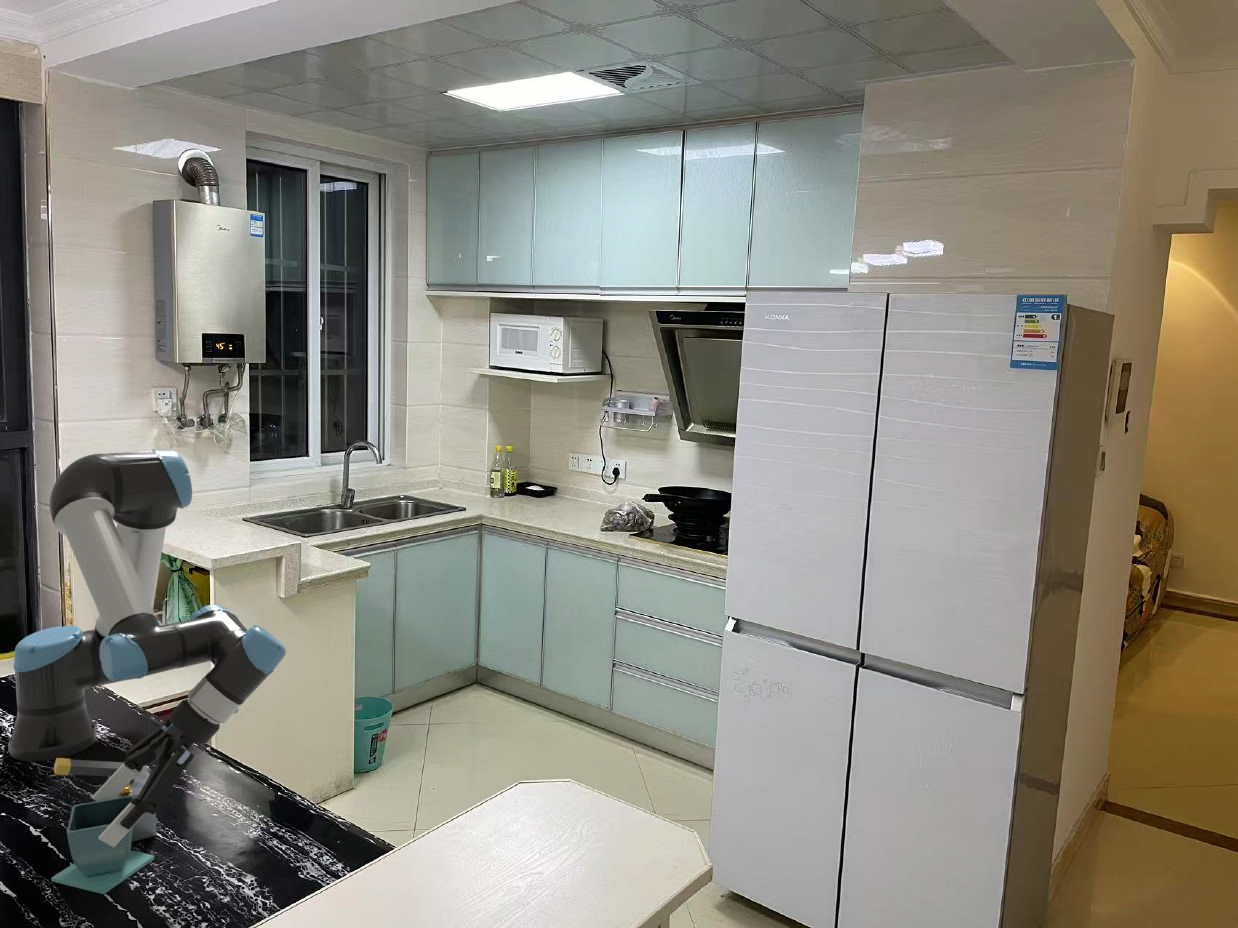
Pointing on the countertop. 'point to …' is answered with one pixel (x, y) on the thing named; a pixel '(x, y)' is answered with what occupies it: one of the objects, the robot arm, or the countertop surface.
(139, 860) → the pad
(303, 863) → the countertop surface
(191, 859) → the countertop surface
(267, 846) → the countertop surface
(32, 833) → the countertop surface
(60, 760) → the lever
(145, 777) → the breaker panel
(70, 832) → the flower pot
